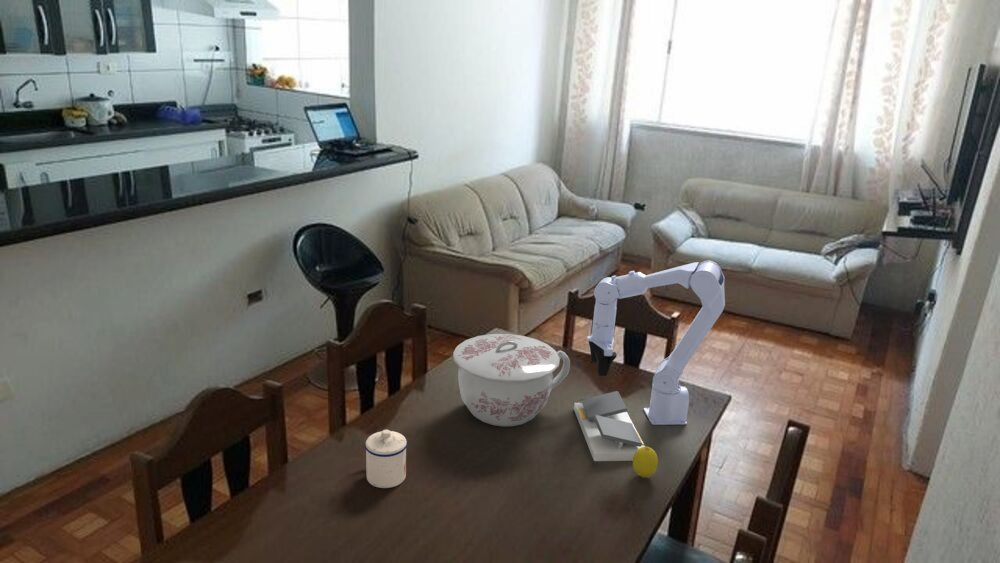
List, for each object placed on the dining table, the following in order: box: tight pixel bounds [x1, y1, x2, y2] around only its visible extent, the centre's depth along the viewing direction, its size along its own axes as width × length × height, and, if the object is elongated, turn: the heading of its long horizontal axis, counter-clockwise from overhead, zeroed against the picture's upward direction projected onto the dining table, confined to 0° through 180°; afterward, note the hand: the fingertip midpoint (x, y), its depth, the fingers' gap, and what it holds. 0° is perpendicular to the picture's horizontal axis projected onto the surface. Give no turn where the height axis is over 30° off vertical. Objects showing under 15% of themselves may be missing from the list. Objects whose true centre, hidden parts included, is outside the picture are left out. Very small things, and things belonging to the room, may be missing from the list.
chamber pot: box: [452, 333, 571, 427], centre depth 180 cm, size 28×28×21 cm
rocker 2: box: [594, 415, 642, 447], centre depth 169 cm, size 10×10×2 cm
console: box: [573, 402, 646, 462], centre depth 176 cm, size 13×24×3 cm, turn 6°
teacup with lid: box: [364, 429, 408, 489], centre depth 154 cm, size 12×9×12 cm
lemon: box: [632, 446, 659, 478], centre depth 158 cm, size 6×6×8 cm
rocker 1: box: [580, 390, 628, 421], centre depth 181 cm, size 10×10×2 cm
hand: (598, 368), depth 188 cm, fingers open, 7 cm apart
